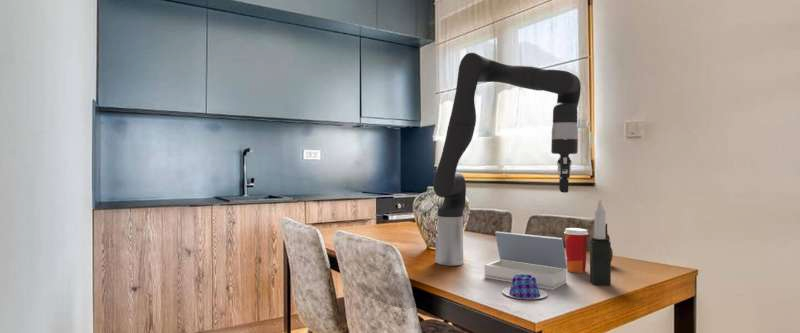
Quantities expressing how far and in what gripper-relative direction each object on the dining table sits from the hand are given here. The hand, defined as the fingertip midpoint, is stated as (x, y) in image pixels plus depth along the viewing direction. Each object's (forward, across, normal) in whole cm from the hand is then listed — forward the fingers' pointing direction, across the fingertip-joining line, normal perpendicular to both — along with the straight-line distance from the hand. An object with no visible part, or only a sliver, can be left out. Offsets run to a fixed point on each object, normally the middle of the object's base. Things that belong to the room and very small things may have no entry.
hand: (563, 191), depth 136 cm
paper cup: (+28, -15, +5) cm, 32 cm away
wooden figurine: (+28, -27, +15) cm, 41 cm away
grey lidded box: (+28, +2, -11) cm, 30 cm away
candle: (+27, 0, +11) cm, 29 cm away
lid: (+19, -1, -10) cm, 21 cm away
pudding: (+28, +18, -10) cm, 35 cm away
